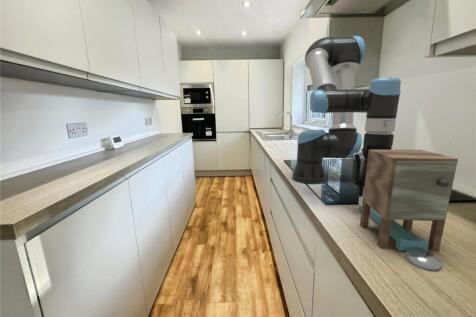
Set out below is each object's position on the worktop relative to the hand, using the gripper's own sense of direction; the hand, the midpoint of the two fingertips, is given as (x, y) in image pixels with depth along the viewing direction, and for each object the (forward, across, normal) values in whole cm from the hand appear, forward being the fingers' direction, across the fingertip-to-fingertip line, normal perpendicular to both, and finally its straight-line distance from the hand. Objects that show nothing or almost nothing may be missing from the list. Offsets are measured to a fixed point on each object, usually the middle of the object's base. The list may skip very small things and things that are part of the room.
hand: (369, 205), depth 71 cm
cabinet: (+2, 0, -14) cm, 14 cm away
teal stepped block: (+2, 0, -9) cm, 10 cm away
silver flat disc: (+3, 0, -24) cm, 24 cm away
